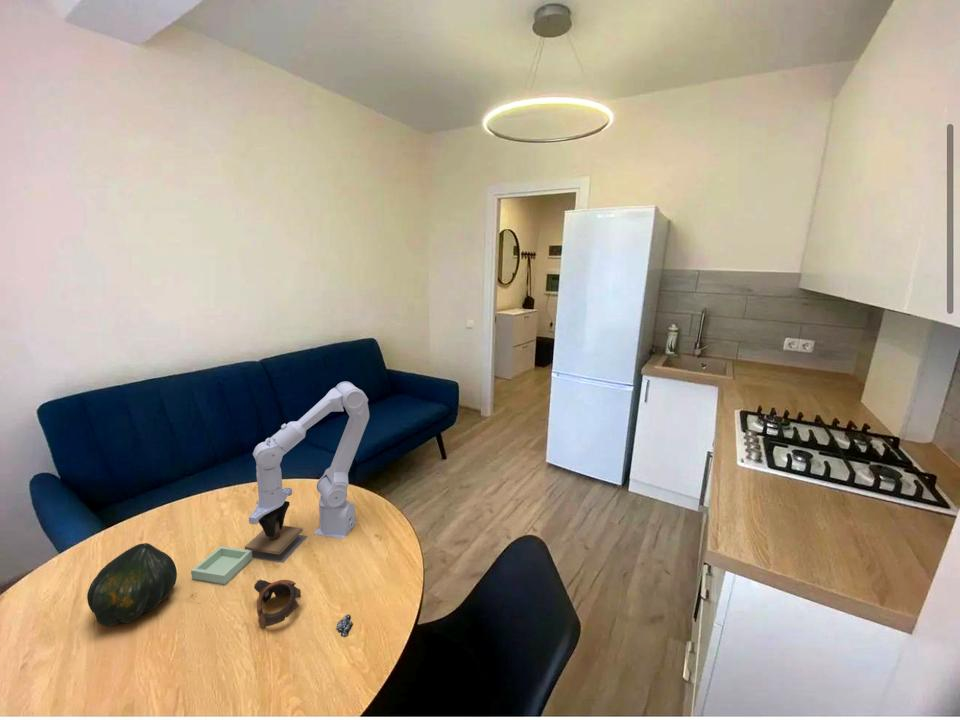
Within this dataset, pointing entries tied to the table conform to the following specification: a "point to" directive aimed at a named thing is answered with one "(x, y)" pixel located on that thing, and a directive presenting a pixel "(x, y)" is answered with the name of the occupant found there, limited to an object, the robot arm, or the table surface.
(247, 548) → the lid
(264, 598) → the pottery mug
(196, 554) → the table surface
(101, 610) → the squash
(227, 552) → the dish
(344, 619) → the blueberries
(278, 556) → the mat
